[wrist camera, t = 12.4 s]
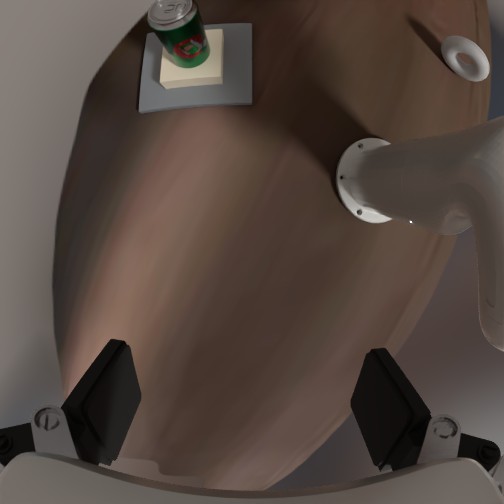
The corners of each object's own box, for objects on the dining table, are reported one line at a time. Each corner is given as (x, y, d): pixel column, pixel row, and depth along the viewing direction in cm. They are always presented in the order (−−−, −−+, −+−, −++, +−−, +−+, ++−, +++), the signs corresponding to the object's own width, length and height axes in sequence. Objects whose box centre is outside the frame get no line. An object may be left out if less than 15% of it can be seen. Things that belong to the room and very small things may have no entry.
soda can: (178, 39, 27) (153, -8, 15) (214, 40, 27) (201, -11, 16) (169, 69, 28) (137, 28, 17) (206, 71, 29) (188, 25, 17)
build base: (251, 26, 30) (252, 13, 26) (252, 105, 34) (252, 96, 30) (149, 36, 30) (140, 25, 26) (141, 113, 34) (130, 107, 30)
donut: (429, 51, 30) (460, 33, 20) (433, 42, 29) (463, 25, 20) (464, 89, 32) (498, 79, 22) (468, 79, 31) (500, 69, 21)
